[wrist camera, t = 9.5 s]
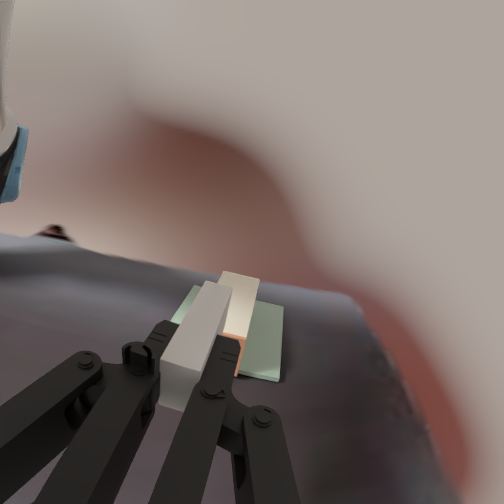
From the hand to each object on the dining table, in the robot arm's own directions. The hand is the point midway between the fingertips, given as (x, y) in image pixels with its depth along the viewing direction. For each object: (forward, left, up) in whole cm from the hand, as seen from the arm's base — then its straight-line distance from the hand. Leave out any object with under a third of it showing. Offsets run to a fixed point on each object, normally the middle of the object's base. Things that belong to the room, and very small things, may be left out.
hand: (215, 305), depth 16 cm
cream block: (0, +9, -11) cm, 14 cm away
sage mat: (0, +18, -14) cm, 23 cm away
